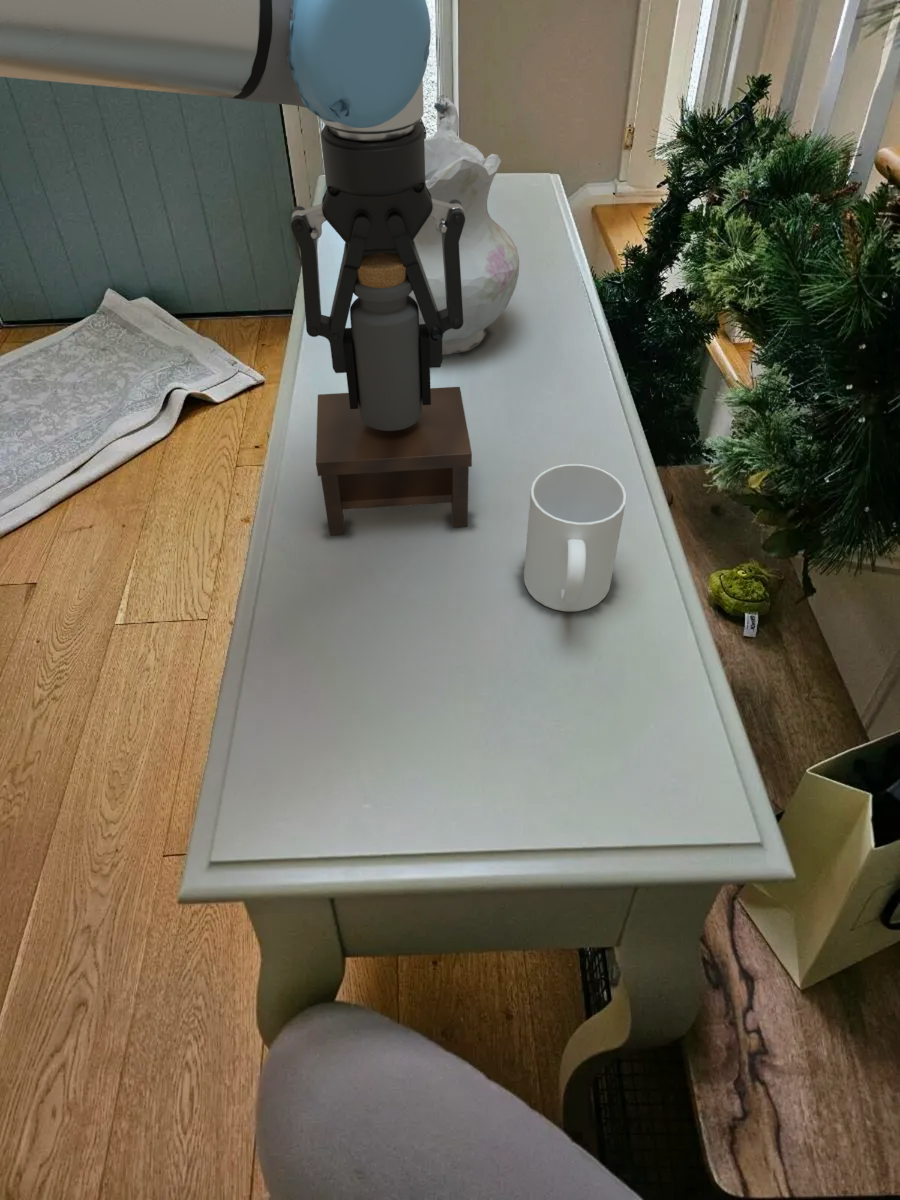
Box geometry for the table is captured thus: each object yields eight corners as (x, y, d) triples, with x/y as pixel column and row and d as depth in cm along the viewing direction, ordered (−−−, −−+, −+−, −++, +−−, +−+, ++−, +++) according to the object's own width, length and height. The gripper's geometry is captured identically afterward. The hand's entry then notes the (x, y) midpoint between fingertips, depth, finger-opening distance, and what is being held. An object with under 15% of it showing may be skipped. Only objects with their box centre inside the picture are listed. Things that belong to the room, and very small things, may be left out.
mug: (525, 549, 82) (532, 460, 74) (609, 555, 81) (625, 466, 73) (519, 646, 73) (526, 557, 66) (612, 653, 73) (630, 564, 65)
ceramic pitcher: (366, 300, 118) (333, 101, 100) (506, 282, 118) (499, 79, 100) (372, 388, 103) (334, 172, 85) (532, 367, 103) (529, 147, 85)
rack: (326, 537, 83) (315, 462, 76) (327, 467, 90) (317, 394, 84) (470, 528, 84) (471, 453, 77) (459, 459, 91) (459, 386, 85)
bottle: (383, 439, 77) (372, 279, 66) (347, 410, 80) (330, 253, 69) (435, 416, 79) (431, 257, 69) (397, 389, 83) (388, 233, 72)
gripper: (235, 146, 59) (284, 428, 75) (508, 136, 60) (497, 416, 77) (243, 110, 64) (288, 381, 81) (495, 101, 65) (487, 371, 82)
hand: (389, 398), depth 79 cm, fingers closed on bottle, 6 cm apart
